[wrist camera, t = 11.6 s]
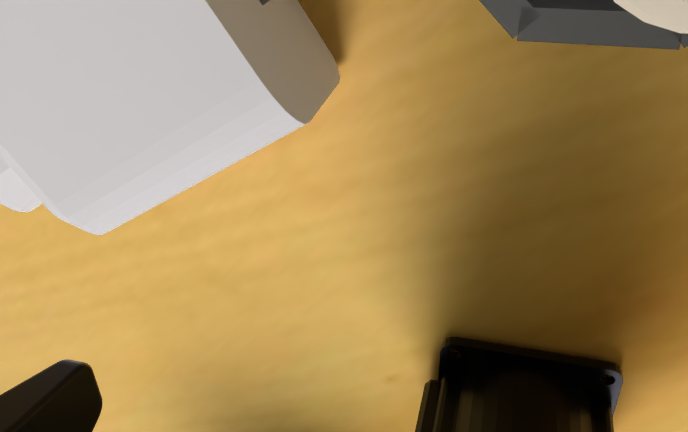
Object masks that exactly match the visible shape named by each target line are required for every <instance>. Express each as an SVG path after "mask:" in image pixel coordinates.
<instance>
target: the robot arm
mask: <svg viewBox="0 0 688 432" xmlns="http://www.w3.org/2000/svg"><path fill="white" fill-rule="evenodd" d="M450 349H455V350H458V351H459V352H453V351H451V350H450ZM604 375H611V377H604ZM622 383H623V377H622V370H621V368H620V367H619V366H618V365H616V364H615V363H611V362H607V361H600V360H594V359H588V358H582V357H575V356H569V355H563V354H557V353H551V352H544V351H538V350H532V349H526V348H519V347H513V346H507V345H501V344H495V343H488V342H482V341H476V340H470V339H463V338H457V337H450V338H447V339H445V340H444V341H443V343H442V347H441V352H440V365H439V378H438V381H437V380H432V379H431V380H430V381H428V382H427V383H425V387H424V392H423V397H422V401H421V406H420V411H419V416H418V420H417V425H416V430H415V432H614V428H613V418H612V417H613V414H614V411H615V407H616V404H617V400H618V397H619V394H620V390H621V387H622ZM101 409H102V397H101V394H100V391H99V388H98V385H97V382H96V379H95V376H94V373H93V370H92V368H91V366H90V365H88V364H87V363H84V362H78V361H73V360H62V361H59V362H57V363H55V364H54V365H52V366H50V367H48V368H47V369H45V370H43V371H41V372H40V373H38V374H36V375H34V376H33V377H31V378H29V379H27V380H26V381H24V382H22V383H20V384H19V385H17V386H15V387H13V388H12V389H10V390H8V391H7V392H5V393H3V394H1V395H0V432H92V431H93V429H94V427H95V424H96V422H97V420H98V418H99V416H100V413H101Z"/></svg>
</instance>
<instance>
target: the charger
mask: <svg viewBox="0 0 688 432" xmlns="http://www.w3.org/2000/svg"><path fill="white" fill-rule="evenodd" d="M339 80H340V75H339V71H338V67H337V64H336V62H335V59H334V57H333V55H332V54H331V52H330V51H329V49H328V47H327V46H326V44H325V43H324V41H323V39H322V38H321V36H320V35H319V33H318V31H317V30H316V28H315V27H314V25H313V24H312V22H311V20H310V19H309V17H308V16H307V14H306V13H305V11H304V9H303V8H302V6H301V5H300V3H299V2H298V0H0V204H2V205H4V206H6V207H8V208H10V209H12V210H14V211H21V212H30V211H32V210H33V209H35V208H37V207H38V206H40V205H41V204H43V205H44V206H45V207H46V208H47V209H48V210H49V211H50V212H51V213H52V214H53V215H55V216H56V217H57V218H59V219H61V220H63V221H65V222H67V223H69V224H72V225H74V226H76V227H78V228H80V229H82V230H84V231H87V232H89V233H91V234H96V235H103V234H105V233H107V232H109V231H111V230H113V229H115V228H117V227H118V226H120V225H122V224H124V223H126V222H128V221H129V220H131V219H133V218H135V217H137V216H139V215H140V214H142V213H144V212H146V211H148V210H150V209H151V208H153V207H155V206H157V205H159V204H161V203H162V202H164V201H166V200H168V199H170V198H172V197H173V196H175V195H177V194H179V193H181V192H183V191H185V190H186V189H188V188H190V187H192V186H194V185H196V184H197V183H199V182H201V181H203V180H205V179H207V178H208V177H210V176H212V175H214V174H216V173H218V172H219V171H221V170H223V169H225V168H227V167H229V166H230V165H232V164H234V163H236V162H238V161H240V160H241V159H243V158H245V157H247V156H249V155H251V154H252V153H254V152H256V151H258V150H260V149H262V148H263V147H265V146H267V145H269V144H271V143H273V142H274V141H276V140H278V139H280V138H282V137H284V136H285V135H287V134H289V133H291V132H293V131H295V130H296V129H298V128H300V127H302V126H304V125H306V124H307V123H309V122H310V121H311V120H312V118H313V117H314V115H315V114H316V113H317V111H318V110H319V109H320V107H321V106H322V105H323V103H324V102H325V101H326V99H327V98H328V97H329V95H330V94H331V93H332V91H333V90H334V89H335V87H336V86H337V85H338V83H339Z"/></svg>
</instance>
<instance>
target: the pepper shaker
mask: <svg viewBox="0 0 688 432" xmlns="http://www.w3.org/2000/svg"><path fill="white" fill-rule="evenodd" d="M613 1H614V2H615V3H616V4H618V5H619V6H621V7H622V8H624V9H625V10H627V11H628V12H630V13H631V14H633V15H634V16H636V17H637V18H639V19H640V20H642V21H643V22H645V23H649V24H652V25H655V26H658V27H661V28H665V29H668V30H671V31H674V32H677V33H686V34H688V0H613Z"/></svg>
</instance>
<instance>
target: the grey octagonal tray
mask: <svg viewBox="0 0 688 432" xmlns="http://www.w3.org/2000/svg"><path fill="white" fill-rule="evenodd" d="M480 2H481V3H482V4H483V5H484V6H485V7H486V8H487V10H488V11H489V12H490V13H491V14H492V15H493V16H494V18H495V19H496V20H497V21H498V22H499V23H500V24H501V26H502V27H503V28H504V29H505V30H506V31H507V32H508V34H509V35H510V36H511V37H512V38H514V37H515V36H516V35H518V38H517V41H533V42H551V43H569V44H587V45H605V46H623V47H641V48H659V49H677V50H679V47H680V43H681V44H682V45H683V47H684V48H685V47H687V46H688V34H686V33H677V32H674V31H671V30H668V29H665V28H661V27H658V26H655V25H652V24H649V23H645V22H643V21H642V20H640V19H639V18H637V17H636V16H634V15H633V14H631V13H630V12H628V11H627V10H625V9H624V8H622V7H621V6H619V5H618V4H616V3H615V2H614V1H613V0H480Z"/></svg>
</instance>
